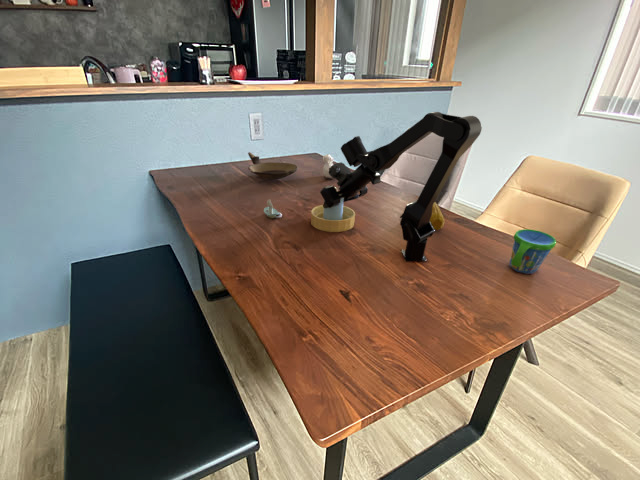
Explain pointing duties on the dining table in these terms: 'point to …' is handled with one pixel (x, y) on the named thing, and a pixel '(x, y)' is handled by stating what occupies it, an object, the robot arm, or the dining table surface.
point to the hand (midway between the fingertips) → (330, 204)
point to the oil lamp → (271, 168)
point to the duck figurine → (327, 165)
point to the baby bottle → (334, 211)
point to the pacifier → (271, 211)
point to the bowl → (332, 225)
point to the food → (436, 217)
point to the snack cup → (530, 250)
